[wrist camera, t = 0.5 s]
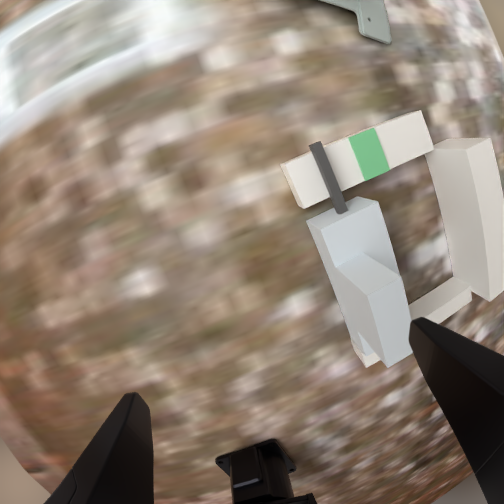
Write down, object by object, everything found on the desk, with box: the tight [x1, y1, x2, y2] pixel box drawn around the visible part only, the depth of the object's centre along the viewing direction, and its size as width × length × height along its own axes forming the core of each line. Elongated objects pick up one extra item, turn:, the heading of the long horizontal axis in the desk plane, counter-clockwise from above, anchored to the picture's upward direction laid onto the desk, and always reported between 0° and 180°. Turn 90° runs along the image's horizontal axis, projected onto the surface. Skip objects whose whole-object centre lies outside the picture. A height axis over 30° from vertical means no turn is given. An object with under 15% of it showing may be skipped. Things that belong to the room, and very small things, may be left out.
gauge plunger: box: [306, 141, 413, 368], centre depth 18 cm, size 14×4×8 cm, turn 25°
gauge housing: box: [280, 110, 504, 368], centre depth 20 cm, size 16×14×5 cm
